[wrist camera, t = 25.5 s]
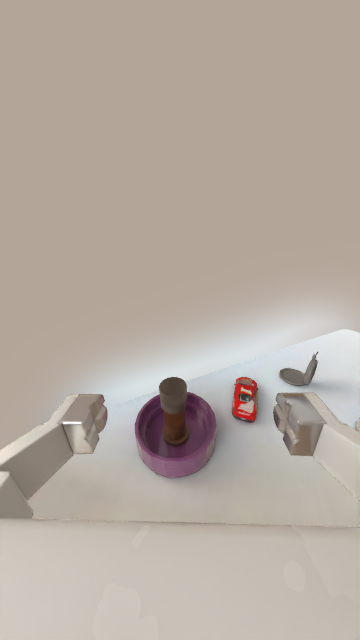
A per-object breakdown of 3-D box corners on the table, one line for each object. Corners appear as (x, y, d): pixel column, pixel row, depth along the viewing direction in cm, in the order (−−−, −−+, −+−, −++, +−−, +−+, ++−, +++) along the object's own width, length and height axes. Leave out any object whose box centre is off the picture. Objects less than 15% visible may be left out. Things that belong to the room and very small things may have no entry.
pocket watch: (276, 369, 56) (282, 339, 52) (308, 373, 54) (317, 342, 50) (283, 389, 49) (291, 356, 45) (321, 394, 47) (332, 359, 43)
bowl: (210, 405, 45) (210, 390, 43) (221, 480, 30) (222, 462, 29) (146, 405, 45) (144, 390, 44) (128, 478, 31) (124, 461, 29)
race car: (235, 381, 52) (237, 369, 51) (256, 385, 50) (258, 373, 49) (228, 419, 41) (230, 405, 39) (255, 427, 39) (258, 412, 37)
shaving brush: (188, 422, 40) (187, 376, 35) (189, 447, 35) (187, 397, 31) (164, 422, 40) (160, 376, 36) (161, 446, 35) (155, 397, 31)
